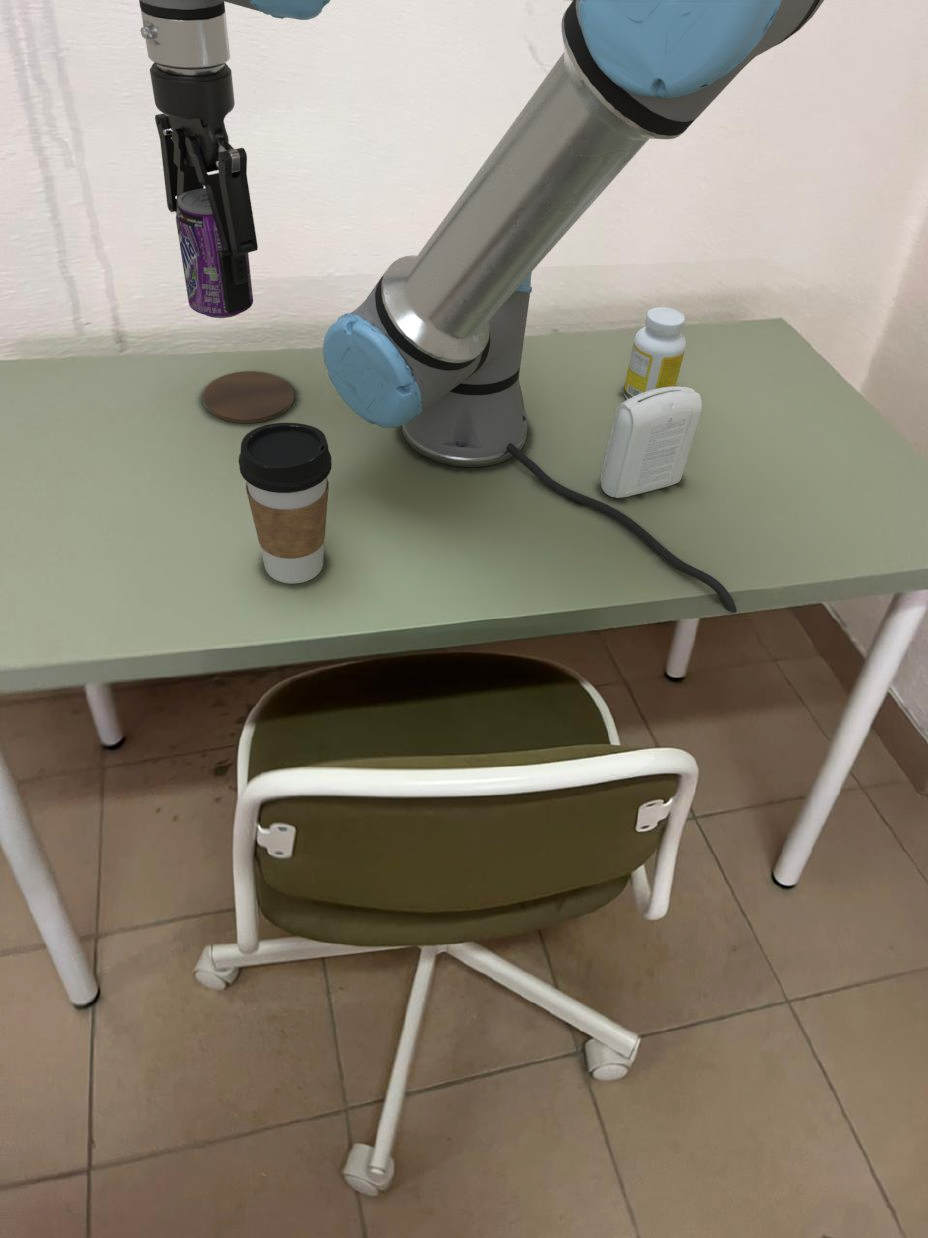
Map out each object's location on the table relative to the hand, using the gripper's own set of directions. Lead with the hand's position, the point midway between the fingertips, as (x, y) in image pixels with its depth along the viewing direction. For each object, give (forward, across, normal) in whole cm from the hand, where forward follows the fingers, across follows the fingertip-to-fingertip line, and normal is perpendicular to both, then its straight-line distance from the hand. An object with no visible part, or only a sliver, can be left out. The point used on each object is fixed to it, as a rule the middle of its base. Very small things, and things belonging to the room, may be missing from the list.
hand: (220, 294), depth 102 cm
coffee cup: (+15, +29, -11) cm, 34 cm away
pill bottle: (+15, +29, +44) cm, 55 cm away
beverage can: (+2, 0, 0) cm, 2 cm away
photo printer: (+15, +41, +29) cm, 52 cm away
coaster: (+14, 0, +2) cm, 14 cm away
